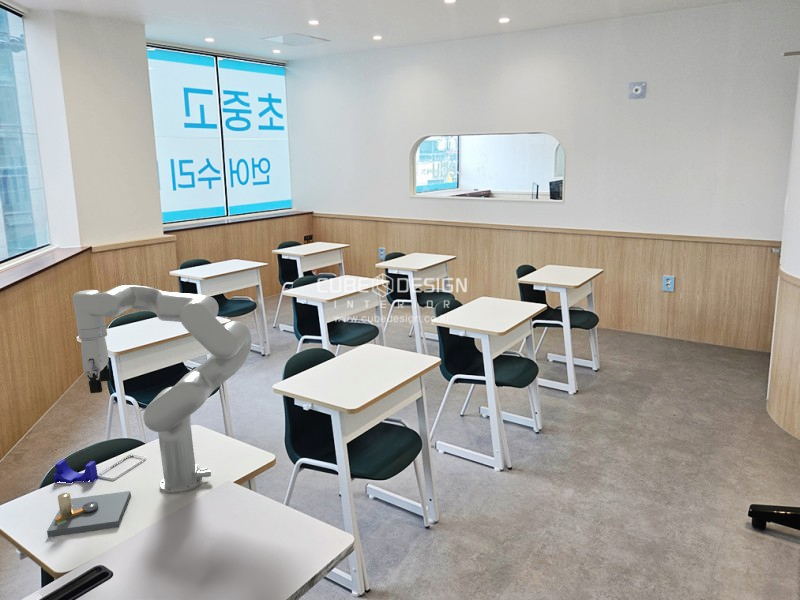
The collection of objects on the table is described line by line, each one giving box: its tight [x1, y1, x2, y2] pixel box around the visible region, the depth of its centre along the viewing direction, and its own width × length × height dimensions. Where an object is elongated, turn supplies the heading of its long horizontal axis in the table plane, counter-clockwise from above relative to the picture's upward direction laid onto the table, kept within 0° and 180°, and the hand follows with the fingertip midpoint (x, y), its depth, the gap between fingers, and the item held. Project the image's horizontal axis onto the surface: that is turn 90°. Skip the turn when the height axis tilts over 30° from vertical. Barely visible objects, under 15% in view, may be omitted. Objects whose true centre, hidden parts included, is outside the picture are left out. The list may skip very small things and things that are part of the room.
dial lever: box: [54, 492, 98, 522], centre depth 169 cm, size 11×4×7 cm, turn 131°
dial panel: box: [46, 490, 132, 538], centre depth 172 cm, size 18×16×2 cm
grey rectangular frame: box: [97, 453, 147, 481], centre depth 199 cm, size 7×1×15 cm
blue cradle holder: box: [53, 459, 99, 484], centre depth 191 cm, size 12×4×6 cm, turn 81°
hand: (100, 386), depth 180 cm, fingers open, 9 cm apart
